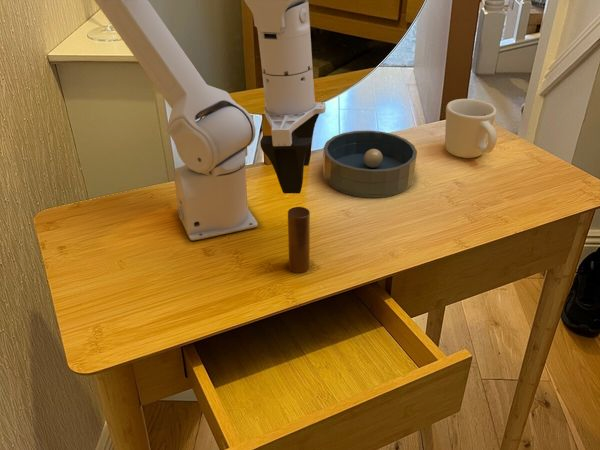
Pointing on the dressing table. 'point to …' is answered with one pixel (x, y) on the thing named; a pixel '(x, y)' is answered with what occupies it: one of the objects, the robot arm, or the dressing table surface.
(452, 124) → the cup
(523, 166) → the dressing table surface
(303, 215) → the stick
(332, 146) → the bowl
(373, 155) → the bead
